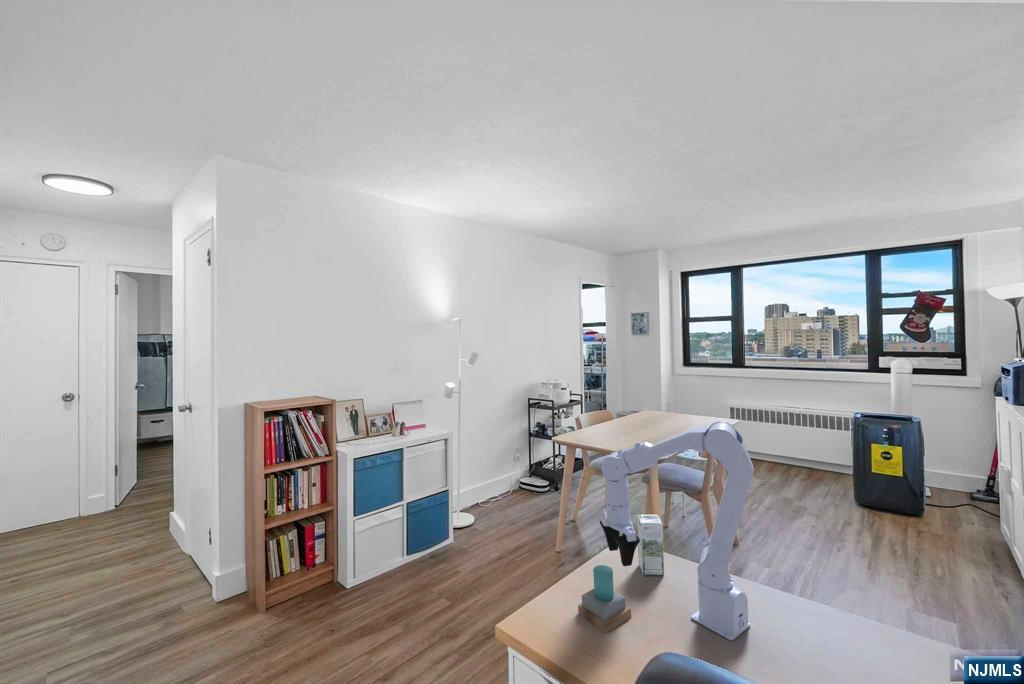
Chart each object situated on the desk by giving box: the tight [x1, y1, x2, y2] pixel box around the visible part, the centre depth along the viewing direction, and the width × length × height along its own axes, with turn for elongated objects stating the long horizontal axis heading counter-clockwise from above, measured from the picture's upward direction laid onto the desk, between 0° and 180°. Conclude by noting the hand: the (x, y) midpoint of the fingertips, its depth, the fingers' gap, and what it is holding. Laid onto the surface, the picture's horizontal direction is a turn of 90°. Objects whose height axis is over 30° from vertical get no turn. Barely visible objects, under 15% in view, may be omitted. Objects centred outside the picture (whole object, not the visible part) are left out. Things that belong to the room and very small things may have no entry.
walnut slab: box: [577, 603, 632, 634], centre depth 100 cm, size 8×8×2 cm
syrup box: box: [636, 514, 665, 576], centre depth 118 cm, size 6×6×14 cm
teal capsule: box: [592, 564, 615, 602], centre depth 100 cm, size 4×4×6 cm
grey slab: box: [581, 588, 627, 621], centre depth 100 cm, size 7×7×2 cm
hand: (620, 557), depth 106 cm, fingers open, 7 cm apart
